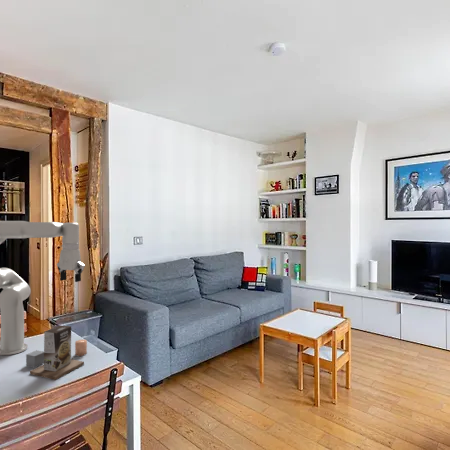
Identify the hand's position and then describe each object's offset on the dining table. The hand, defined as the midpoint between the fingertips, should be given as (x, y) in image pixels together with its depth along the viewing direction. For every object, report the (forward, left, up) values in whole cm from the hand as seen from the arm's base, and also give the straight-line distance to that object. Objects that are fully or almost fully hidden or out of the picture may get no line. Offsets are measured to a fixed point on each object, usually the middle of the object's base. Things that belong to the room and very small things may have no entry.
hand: (70, 280), depth 161 cm
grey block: (+2, -21, -33) cm, 40 cm away
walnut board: (+15, -21, -33) cm, 42 cm away
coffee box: (+15, -21, -32) cm, 41 cm away
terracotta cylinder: (+12, -5, -33) cm, 36 cm away
